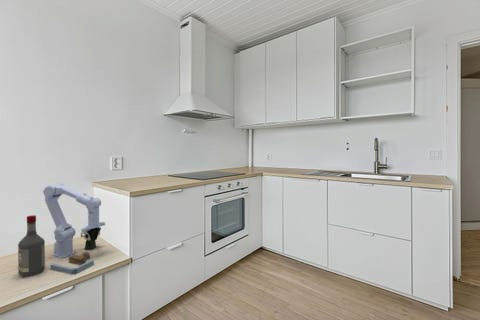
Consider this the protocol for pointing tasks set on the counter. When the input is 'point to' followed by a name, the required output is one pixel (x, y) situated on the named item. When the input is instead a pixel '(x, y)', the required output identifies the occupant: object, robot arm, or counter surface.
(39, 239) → the liquor
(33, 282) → the counter surface
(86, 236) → the character mug
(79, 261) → the walnut tee
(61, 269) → the slate fence
